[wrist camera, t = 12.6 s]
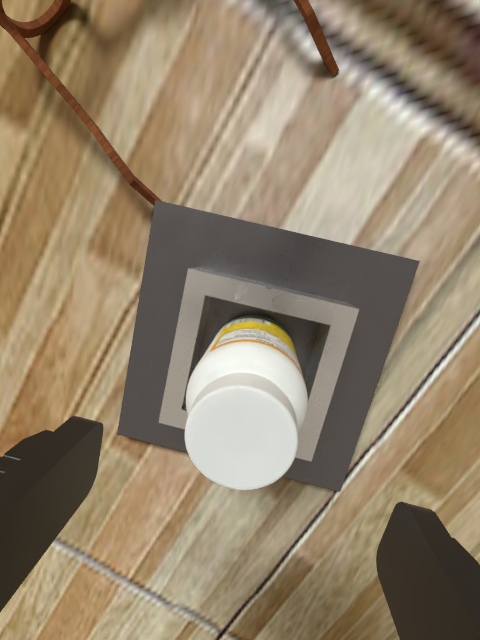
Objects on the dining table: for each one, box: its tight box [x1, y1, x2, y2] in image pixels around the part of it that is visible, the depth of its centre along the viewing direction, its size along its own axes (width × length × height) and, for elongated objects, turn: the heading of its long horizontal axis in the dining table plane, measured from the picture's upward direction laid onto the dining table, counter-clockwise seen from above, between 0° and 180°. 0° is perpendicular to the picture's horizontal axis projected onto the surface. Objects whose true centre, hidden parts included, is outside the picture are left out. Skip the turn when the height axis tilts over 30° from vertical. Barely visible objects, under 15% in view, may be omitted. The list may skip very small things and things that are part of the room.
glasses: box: [0, 0, 339, 205], centre depth 16 cm, size 13×13×5 cm
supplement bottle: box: [185, 315, 308, 490], centre depth 15 cm, size 5×5×10 cm
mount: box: [117, 200, 419, 491], centre depth 19 cm, size 16×16×4 cm
